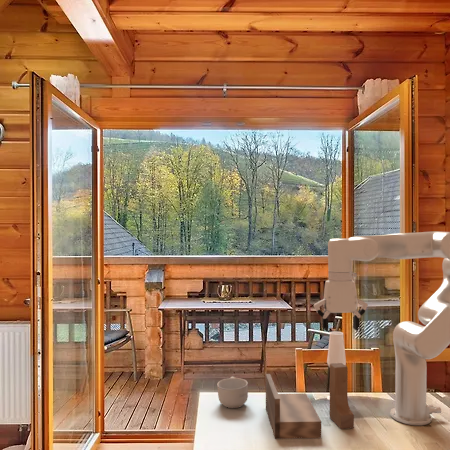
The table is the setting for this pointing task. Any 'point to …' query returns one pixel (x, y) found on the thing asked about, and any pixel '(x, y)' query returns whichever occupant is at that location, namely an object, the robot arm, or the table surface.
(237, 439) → the table surface
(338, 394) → the wooden block
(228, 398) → the teacup
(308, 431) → the walnut shelf
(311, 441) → the table surface
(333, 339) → the champagne flute
